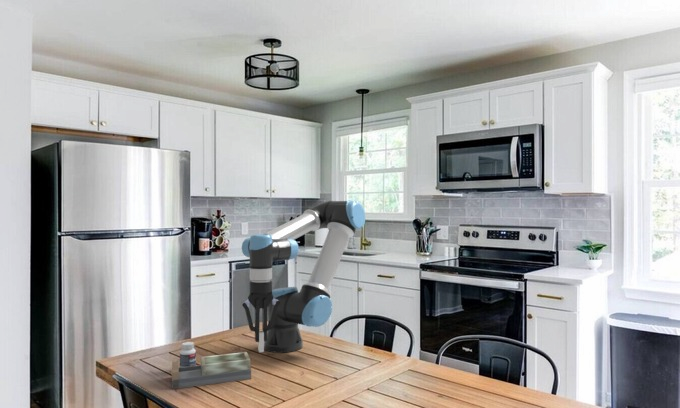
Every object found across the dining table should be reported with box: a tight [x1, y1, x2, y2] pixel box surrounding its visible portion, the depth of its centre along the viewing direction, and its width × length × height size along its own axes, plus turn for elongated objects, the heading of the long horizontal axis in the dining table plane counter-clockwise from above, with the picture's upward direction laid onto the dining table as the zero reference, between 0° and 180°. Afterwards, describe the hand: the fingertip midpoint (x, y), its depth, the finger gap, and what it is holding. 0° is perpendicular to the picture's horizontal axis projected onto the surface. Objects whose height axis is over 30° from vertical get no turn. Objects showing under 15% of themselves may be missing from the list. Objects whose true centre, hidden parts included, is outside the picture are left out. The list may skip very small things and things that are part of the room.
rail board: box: [171, 360, 252, 390], centre depth 152 cm, size 24×11×5 cm, turn 109°
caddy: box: [200, 351, 252, 376], centre depth 154 cm, size 15×9×4 cm, turn 109°
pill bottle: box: [179, 341, 197, 368], centre depth 160 cm, size 5×5×9 cm
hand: (260, 350), depth 157 cm, fingers closed
